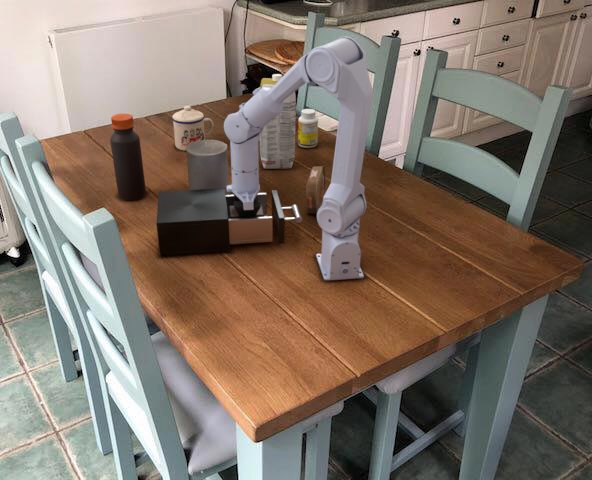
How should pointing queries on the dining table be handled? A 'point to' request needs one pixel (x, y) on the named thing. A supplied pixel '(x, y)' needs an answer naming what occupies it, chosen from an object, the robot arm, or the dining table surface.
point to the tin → (315, 189)
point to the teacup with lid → (189, 127)
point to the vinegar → (127, 158)
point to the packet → (235, 215)
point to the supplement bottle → (307, 129)
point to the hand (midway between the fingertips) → (246, 224)
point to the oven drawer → (260, 221)
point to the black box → (193, 222)
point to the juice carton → (279, 133)
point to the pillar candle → (207, 165)
